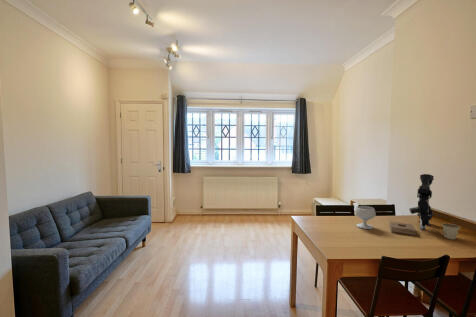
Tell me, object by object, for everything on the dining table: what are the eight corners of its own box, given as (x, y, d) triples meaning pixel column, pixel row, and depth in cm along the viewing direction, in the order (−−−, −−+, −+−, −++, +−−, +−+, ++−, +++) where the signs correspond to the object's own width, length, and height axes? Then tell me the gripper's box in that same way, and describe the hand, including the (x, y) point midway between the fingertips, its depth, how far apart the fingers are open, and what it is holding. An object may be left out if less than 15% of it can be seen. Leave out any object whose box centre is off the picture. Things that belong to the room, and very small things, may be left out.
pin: (419, 228, 181) (420, 216, 181) (424, 229, 180) (425, 217, 179) (420, 229, 178) (421, 217, 178) (425, 230, 177) (426, 218, 176)
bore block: (389, 226, 186) (389, 221, 186) (411, 229, 180) (412, 224, 179) (391, 232, 174) (391, 227, 174) (415, 235, 167) (415, 230, 167)
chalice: (370, 223, 192) (370, 205, 191) (378, 230, 178) (379, 210, 177) (352, 223, 194) (352, 205, 193) (359, 229, 180) (359, 210, 179)
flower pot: (454, 235, 167) (454, 223, 166) (462, 241, 157) (463, 228, 157) (438, 234, 169) (438, 222, 168) (445, 239, 160) (446, 227, 159)
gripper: (408, 200, 190) (407, 220, 191) (412, 206, 173) (411, 227, 174) (426, 202, 185) (425, 222, 186) (432, 208, 168) (431, 230, 169)
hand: (422, 225), depth 179 cm, fingers closed on pin, 3 cm apart
